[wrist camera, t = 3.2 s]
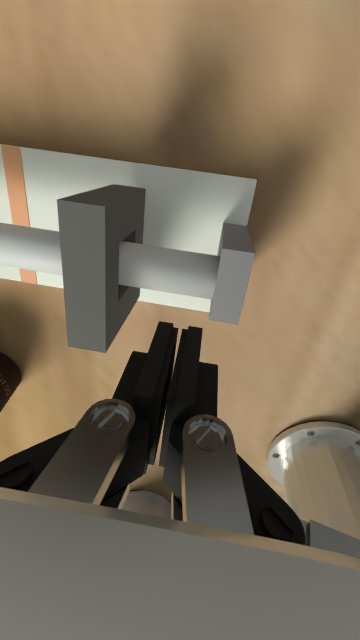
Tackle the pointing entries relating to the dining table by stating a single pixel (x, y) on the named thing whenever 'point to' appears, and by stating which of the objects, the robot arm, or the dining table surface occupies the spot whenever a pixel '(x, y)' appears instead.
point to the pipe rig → (158, 234)
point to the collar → (98, 261)
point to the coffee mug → (8, 378)
